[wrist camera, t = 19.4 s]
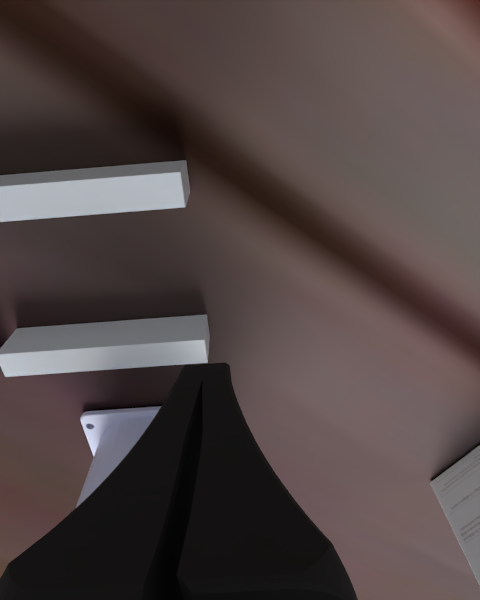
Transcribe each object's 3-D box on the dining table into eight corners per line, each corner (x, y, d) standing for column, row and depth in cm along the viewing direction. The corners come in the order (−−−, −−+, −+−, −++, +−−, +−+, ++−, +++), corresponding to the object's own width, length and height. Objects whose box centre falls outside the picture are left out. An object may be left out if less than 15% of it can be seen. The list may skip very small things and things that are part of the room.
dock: (209, 336, 24) (207, 362, 22) (25, 349, 24) (5, 376, 22) (186, 159, 19) (180, 171, 17) (-45, 178, 19) (-80, 192, 17)
